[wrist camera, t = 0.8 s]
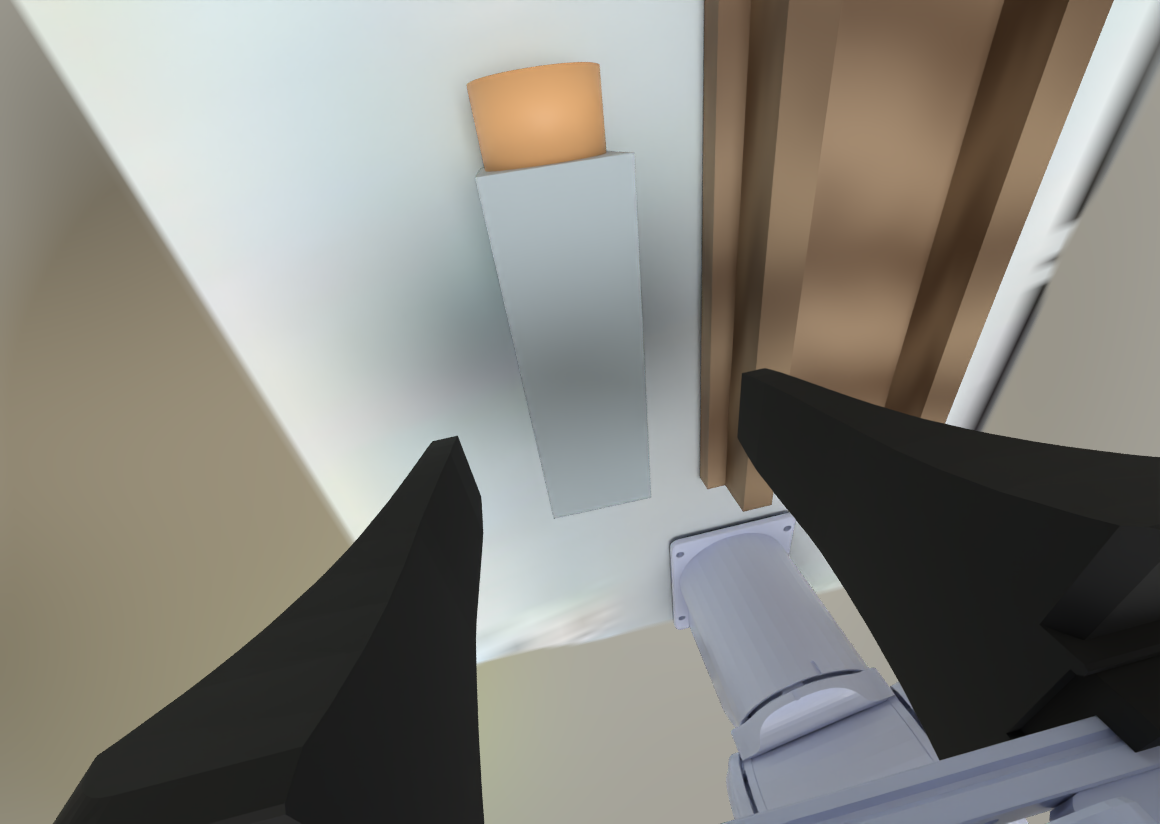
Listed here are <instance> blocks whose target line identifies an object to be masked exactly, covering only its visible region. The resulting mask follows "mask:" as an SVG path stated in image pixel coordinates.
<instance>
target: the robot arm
mask: <svg viewBox="0 0 1160 824" xmlns="http://www.w3.org/2000/svg"><path fill="white" fill-rule="evenodd" d="M737 438H738V440H739V442H740V444H741V445H742V447H743V449H744V451H745V452H746V454H747V456H748V458H749V459H750V461H751V462H752V464H753V466H754V467H755V469H756V470H757V472H758V473H759V474H760V475H761V477H762V478H763V479H764V481H765V482H766V483H767V484H768V486H769V487H770V488H771V489H772V491H773V492H774V493H775V494H776V496H777V497H778V498H779V499H780V501H781V502H782V503H783V504H784V506H785V507H786V508H787V509H788V511H789V512H790V513H791V514H790V513H785V514H781V515H777V516H773V517H769V518H765V519H761V520H756V521H752V522H748V523H744V524H740V525H736V526H732V527H728V528H723V529H719V530H715V531H711V532H707V533H703V534H699V535H694V536H690V537H686V538H682V539H678V540H675V541H674V542H672V544H671V545H670V555H671V575H672V596H673V616H674V625H675V627H676V629H685V628H689V627H690V629H691V631H692V634H693V636H694V639H695V641H696V644H697V646H698V649H699V651H700V654H701V656H702V658H703V661H704V664H705V666H706V669H707V671H708V674H709V676H710V678H711V681H712V683H713V686H714V688H715V691H716V693H717V696H718V698H719V701H720V703H721V705H722V708H723V710H724V712H725V714H726V715H727V717H728V718H729V720H730V721H731V723H732V724H733V725H734V727H735V729H733V730H731V734H732V736H733V739H734V741H735V744H736V746H737V749H738V751H739V752H738V753H734V754H732V755H731V756H730V758H729V763H728V772H727V777H726V783H727V791H728V796H729V801H730V805H731V809H732V812H733V816H734V819H735V820H731V821H728V822H724V823H721V824H1029V823H1028V821H1027V820H1026V818H1027V817H1030V816H1034V815H1037V814H1040V813H1043V812H1047V811H1050V810H1052V811H1050V822H1049V823H1046V824H1160V457H1149V456H1139V455H1129V454H1121V453H1113V452H1104V451H1097V450H1089V449H1081V448H1073V447H1066V446H1059V445H1053V444H1046V443H1040V442H1033V441H1028V440H1022V439H1017V438H1011V437H1006V436H1000V435H995V434H989V433H984V432H979V431H974V430H970V429H965V428H961V427H956V426H952V425H948V424H944V423H940V422H935V421H931V420H927V419H923V418H919V417H916V416H912V415H908V414H905V413H901V412H898V411H895V410H891V409H888V408H885V407H881V406H878V405H875V404H871V403H868V402H865V401H862V400H859V399H856V398H853V397H850V396H847V395H844V394H841V393H839V392H836V391H833V390H830V389H827V388H824V387H822V386H819V385H816V384H813V383H810V382H808V381H805V380H802V379H799V378H796V377H793V376H790V375H787V374H784V373H781V372H778V371H775V370H771V369H767V368H763V369H758V370H754V371H749V372H745V373H742V378H741V392H740V406H739V420H738V434H737ZM795 519H796V521H797V522H798V523H799V524H800V526H801V527H802V528H803V529H804V530H805V532H806V533H807V534H808V535H809V537H810V538H811V539H812V541H813V542H814V543H815V545H816V546H817V547H818V549H819V550H820V552H821V553H822V554H823V556H824V557H825V559H826V561H827V562H828V564H829V565H830V567H831V568H832V570H833V571H834V573H835V574H836V576H837V578H838V579H839V581H840V582H841V584H842V585H843V587H844V588H845V590H846V591H847V593H848V595H849V596H850V598H851V600H852V601H853V603H854V605H855V606H856V608H857V609H858V611H859V613H860V615H861V616H862V618H863V619H864V621H865V623H866V625H867V626H868V628H869V629H870V631H871V633H872V635H873V637H874V638H875V640H876V641H877V643H878V645H879V647H880V649H881V651H882V652H883V654H884V656H885V658H886V659H887V661H888V663H889V665H890V666H891V668H892V670H893V672H894V674H895V675H896V677H897V679H898V681H899V682H897V683H895V684H894V685H892V686H890V687H889V686H888V684H887V683H886V682H885V680H884V679H883V677H882V676H881V675H880V673H879V672H878V671H877V669H876V668H874V667H872V668H869V667H868V666H867V664H866V663H865V662H864V660H863V659H862V657H861V656H860V655H859V653H858V652H857V650H856V649H855V648H854V646H853V645H852V643H851V642H850V641H849V639H848V638H847V637H846V635H845V634H844V632H843V631H842V629H841V628H840V627H839V625H838V624H837V622H836V621H835V620H834V618H833V617H832V615H831V614H830V613H829V611H828V610H827V608H826V607H825V606H824V604H823V603H822V601H821V600H820V599H819V597H818V596H817V594H816V593H815V592H814V590H813V589H812V587H811V586H810V585H809V583H808V582H807V580H806V579H805V578H804V576H803V575H802V573H801V572H800V571H799V569H798V568H797V566H796V565H795V564H794V562H793V561H792V559H791V558H790V557H789V552H790V547H791V541H792V536H793V531H794V526H795ZM482 543H483V518H482V502H481V495H480V492H479V490H478V487H477V485H476V482H475V479H474V477H473V474H472V472H471V469H470V467H469V464H468V461H467V459H466V456H465V454H464V451H463V448H462V446H461V443H460V441H459V438H458V436H455V437H450V438H445V439H441V440H436V441H432V443H431V444H430V445H429V447H428V448H427V449H426V451H425V452H424V453H423V455H422V456H421V458H420V459H419V460H418V462H417V463H416V465H415V466H414V467H413V469H412V470H411V472H410V473H409V474H408V476H407V477H406V479H405V480H404V481H403V483H402V484H401V485H400V487H399V488H398V489H397V491H396V492H395V493H394V495H393V496H392V497H391V499H390V500H389V501H388V503H387V504H386V505H385V506H384V507H383V509H382V510H381V511H380V512H379V514H378V515H377V516H376V517H375V518H374V520H373V521H372V522H371V523H370V524H369V526H368V527H367V528H366V529H365V531H364V532H363V533H362V534H361V535H360V537H359V538H358V539H357V540H356V541H355V542H354V543H353V544H352V546H351V547H350V548H349V549H348V550H347V551H346V552H345V553H344V554H343V555H342V556H341V558H339V559H338V561H336V562H335V564H334V565H333V566H332V567H331V568H330V569H329V570H328V571H327V572H326V573H325V574H324V575H323V576H322V577H321V578H320V579H319V580H318V581H317V582H316V583H315V584H314V585H313V586H311V587H310V588H309V589H308V590H307V591H306V592H305V593H304V594H303V595H302V596H300V598H298V599H297V600H296V601H295V602H294V603H293V604H292V605H291V606H290V607H288V608H287V609H286V610H285V611H284V612H283V613H282V614H281V615H280V616H279V617H277V618H276V619H275V620H274V621H273V622H272V623H271V624H270V625H269V626H267V627H266V628H265V629H264V630H263V631H262V632H261V633H259V634H258V635H257V636H256V637H254V638H253V639H252V640H251V641H250V642H248V643H247V644H246V645H245V646H244V647H242V648H241V649H240V650H239V651H238V652H236V653H235V654H234V655H233V656H231V657H230V658H229V659H227V660H226V661H225V662H224V663H223V664H221V665H220V666H219V667H217V668H216V669H215V670H214V671H212V672H211V673H210V674H209V675H207V676H206V677H205V678H203V679H202V680H201V681H200V682H199V683H197V684H196V685H194V686H193V687H192V688H190V689H189V690H188V691H186V692H185V693H184V694H183V695H181V696H180V697H178V698H177V699H175V700H174V701H173V702H171V703H170V704H169V705H167V706H166V707H164V708H163V709H162V710H160V711H159V712H158V713H156V714H155V715H154V716H152V717H151V718H149V719H148V720H147V721H145V722H144V723H143V724H141V725H140V726H138V727H137V728H136V729H134V730H133V731H131V732H130V733H129V734H127V735H126V736H125V737H123V738H122V739H120V740H119V741H118V742H116V743H115V744H113V745H112V746H111V747H109V748H108V749H106V750H105V751H103V752H102V753H100V754H99V755H98V756H97V757H96V758H95V759H94V761H93V762H92V764H91V766H90V767H89V769H88V770H87V772H86V773H85V775H84V777H83V778H82V780H81V781H80V783H79V784H78V786H77V787H76V789H75V791H74V792H73V794H72V795H71V797H70V798H69V800H68V802H67V803H66V805H65V806H64V808H63V809H62V811H61V812H60V814H59V815H58V817H57V818H56V820H55V822H54V823H53V824H484V813H483V800H482V786H481V785H482V784H481V768H480V767H481V766H480V750H479V749H480V748H479V730H478V703H477V673H476V621H477V608H478V595H479V583H480V570H481V557H482Z"/></svg>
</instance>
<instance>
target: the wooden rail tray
mask: <svg viewBox="0 0 1160 824" xmlns="http://www.w3.org/2000/svg"><path fill="white" fill-rule="evenodd" d="M1113 1H1114V0H705V3H704V110H703V218H702V325H701V433H700V478H701V479H702V481H703V483H704V484H705V486H706V487H707V489H710V488H715V487H719V486H723V485H726V487H727V488H728V490H729V491H730V493H731V494H732V496H733V497H734V499H735V500H736V502H737V503H738V505H739V506H740V508H741V509H742V511H743V512H744V511H748V510H752V509H756V508H760V507H764V506H769V505H772V498H773V491H772V489H771V488H770V487H769V486H768V484H767V483H766V482H765V481H764V479H763V478H762V477H761V475H760V474H759V473H758V472H757V470H756V469H755V467H754V466H753V464H752V462H751V461H750V459H749V458H748V456H747V454H746V452H745V451H744V449H743V447H742V445H741V444H740V442H739V440H738V438H737V434H738V420H739V406H740V392H741V378H742V373H745V372H749V371H754V370H758V369H763V368H767V369H771V370H775V371H778V372H781V373H784V374H787V375H790V376H793V377H796V378H799V379H802V380H805V381H808V382H810V383H813V384H816V385H819V386H822V387H824V388H827V389H830V390H833V391H836V392H839V393H841V394H844V395H847V396H850V397H853V398H856V399H859V400H862V401H865V402H868V403H871V404H875V405H878V406H881V407H885V408H888V409H891V410H895V411H898V412H901V413H905V414H908V415H912V416H916V417H919V418H923V419H927V420H931V421H935V422H940V423H944V424H945V422H946V419H947V417H948V414H949V412H950V409H951V407H952V404H953V402H954V399H955V397H956V394H957V392H958V389H959V387H960V384H961V382H962V379H963V377H964V374H965V372H966V369H967V367H968V364H969V362H970V359H971V357H972V354H973V352H974V349H975V347H976V344H977V342H978V339H979V337H980V334H981V332H982V329H983V327H984V324H985V322H986V319H987V317H988V314H989V312H990V309H991V307H992V304H993V302H994V299H995V297H996V294H997V292H998V289H999V286H1000V284H1001V281H1002V279H1003V276H1004V274H1005V271H1006V269H1007V266H1008V264H1009V261H1010V259H1011V256H1012V254H1013V251H1014V249H1015V246H1016V244H1017V241H1018V239H1019V236H1020V234H1021V231H1022V229H1023V226H1024V224H1025V221H1026V219H1027V216H1028V214H1029V211H1030V209H1031V206H1032V204H1033V201H1034V199H1035V196H1036V194H1037V191H1038V189H1039V186H1040V184H1041V181H1042V179H1043V176H1044V174H1045V171H1046V169H1047V166H1048V164H1049V161H1050V159H1051V156H1052V154H1053V151H1054V149H1055V146H1056V144H1057V141H1058V139H1059V136H1060V134H1061V131H1062V129H1063V126H1064V123H1065V121H1066V118H1067V116H1068V113H1069V111H1070V108H1071V106H1072V103H1073V101H1074V98H1075V96H1076V93H1077V91H1078V88H1079V86H1080V83H1081V81H1082V78H1083V76H1084V73H1085V71H1086V68H1087V66H1088V63H1089V61H1090V58H1091V56H1092V53H1093V51H1094V48H1095V46H1096V43H1097V41H1098V38H1099V36H1100V33H1101V31H1102V28H1103V26H1104V23H1105V21H1106V18H1107V16H1108V13H1109V11H1110V8H1111V6H1112V3H1113Z"/></svg>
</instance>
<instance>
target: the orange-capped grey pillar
mask: <svg viewBox="0 0 1160 824" xmlns="http://www.w3.org/2000/svg"><path fill="white" fill-rule="evenodd" d="M467 90H468V94H469V99H470V104H471V108H472V113H473V117H474V122H475V127H476V131H477V136H478V140H479V145H480V149H481V154H482V159H483V163H484V168H481V169H480V170H479V172H478V174H477V175H476V177H475V180H476V184H477V188H478V193H479V197H480V201H481V206H482V210H483V214H484V219H485V223H486V227H487V232H488V236H489V240H490V245H491V249H492V253H493V258H494V262H495V266H496V271H497V275H498V279H499V284H500V288H501V292H502V297H503V301H504V305H505V310H506V314H507V318H508V323H509V327H510V331H511V336H512V340H513V344H514V349H515V353H516V357H517V362H518V366H519V370H520V375H521V379H522V383H523V388H524V392H525V396H526V400H527V405H528V409H529V413H530V418H531V422H532V426H533V431H534V435H535V439H536V444H537V448H538V452H539V457H540V461H541V465H542V470H543V474H544V478H545V483H546V487H547V491H548V496H549V500H550V504H551V509H552V513H553V517H554V519H555V518H559V517H564V516H569V515H573V514H578V513H582V512H587V511H592V510H596V509H601V508H605V507H610V506H614V505H619V504H624V503H628V502H633V501H637V500H642V499H647V498H651V486H650V466H649V445H648V424H647V404H646V383H645V362H644V341H643V321H642V300H641V279H640V259H639V238H638V217H637V197H636V176H635V155H634V153H633V152H615V151H606V142H605V129H604V116H603V104H602V91H601V79H600V66H599V64H597V63H591V62H574V63H561V64H551V65H543V66H536V67H529V68H523V69H517V70H512V71H507V72H502V73H498V74H494V75H490V76H486V77H482V78H479V79H476V80H474V81H471V82H469V83H468V84H467Z"/></svg>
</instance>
